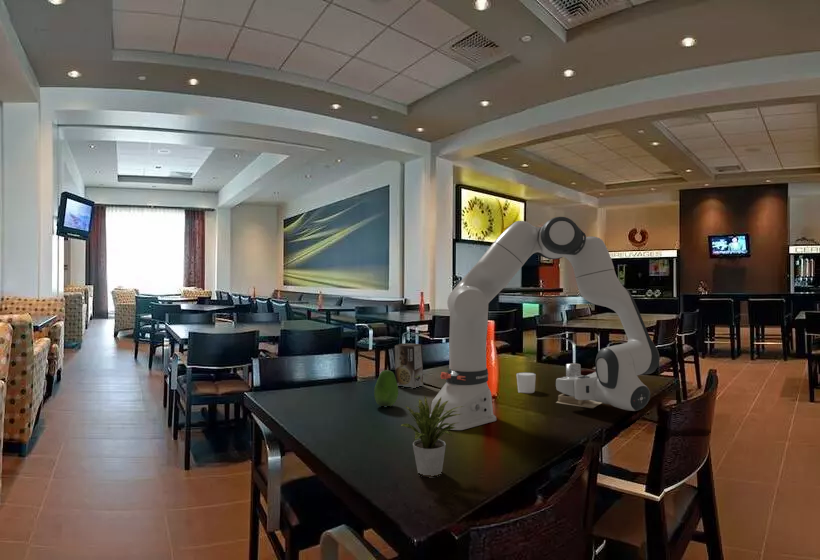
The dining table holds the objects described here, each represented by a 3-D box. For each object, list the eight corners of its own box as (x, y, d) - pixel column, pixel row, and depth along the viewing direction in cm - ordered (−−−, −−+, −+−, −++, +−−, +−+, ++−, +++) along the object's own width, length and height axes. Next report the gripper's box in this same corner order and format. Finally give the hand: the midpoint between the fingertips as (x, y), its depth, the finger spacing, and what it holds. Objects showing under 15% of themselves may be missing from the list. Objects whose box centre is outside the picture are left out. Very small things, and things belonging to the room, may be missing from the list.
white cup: (538, 395, 176) (537, 375, 176) (518, 395, 176) (518, 375, 176) (533, 391, 183) (533, 371, 183) (514, 391, 183) (514, 372, 183)
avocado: (398, 409, 159) (397, 371, 159) (373, 410, 159) (372, 372, 159) (398, 403, 167) (398, 367, 167) (375, 403, 167) (374, 367, 167)
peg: (577, 403, 161) (577, 366, 161) (564, 401, 164) (563, 364, 164) (582, 400, 165) (582, 364, 164) (569, 398, 167) (569, 362, 167)
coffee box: (423, 386, 194) (423, 344, 194) (415, 389, 189) (414, 346, 189) (403, 383, 199) (403, 342, 199) (394, 386, 193) (394, 344, 193)
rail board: (592, 410, 155) (592, 401, 155) (555, 404, 163) (555, 396, 163) (618, 396, 174) (618, 388, 173) (583, 391, 181) (583, 383, 181)
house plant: (451, 493, 97) (450, 408, 97) (386, 483, 102) (385, 403, 102) (470, 467, 110) (470, 392, 110) (411, 459, 115) (411, 388, 115)
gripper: (628, 373, 155) (597, 366, 168) (573, 379, 149) (545, 371, 162) (628, 394, 155) (597, 385, 168) (573, 400, 149) (545, 390, 162)
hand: (571, 378), depth 165 cm, fingers closed on peg, 4 cm apart
